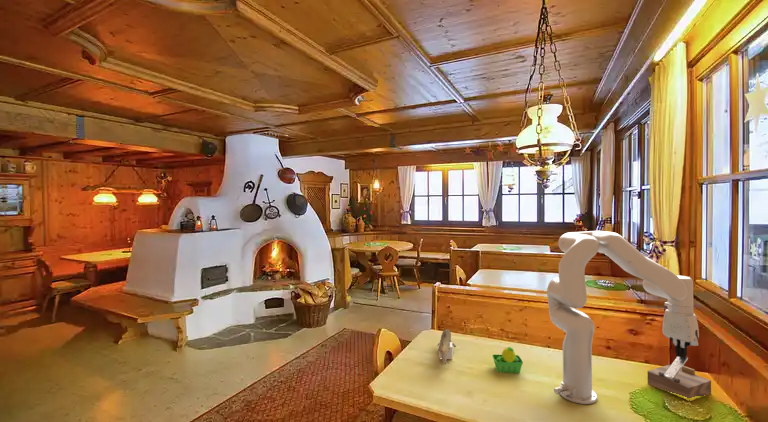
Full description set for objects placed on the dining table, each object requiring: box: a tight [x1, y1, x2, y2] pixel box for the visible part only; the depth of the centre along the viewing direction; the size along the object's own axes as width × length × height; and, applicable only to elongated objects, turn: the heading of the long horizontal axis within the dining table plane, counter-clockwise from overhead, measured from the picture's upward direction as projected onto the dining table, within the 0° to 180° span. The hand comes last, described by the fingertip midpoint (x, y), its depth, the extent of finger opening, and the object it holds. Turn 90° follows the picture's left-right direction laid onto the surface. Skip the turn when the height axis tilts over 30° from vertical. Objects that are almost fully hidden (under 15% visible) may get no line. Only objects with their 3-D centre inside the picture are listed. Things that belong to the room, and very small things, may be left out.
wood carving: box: [437, 328, 457, 364], centre depth 166 cm, size 9×35×11 cm, turn 168°
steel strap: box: [664, 356, 689, 380], centre depth 135 cm, size 11×3×1 cm
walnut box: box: [647, 364, 712, 398], centre depth 135 cm, size 13×14×7 cm
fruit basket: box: [492, 346, 524, 374], centre depth 153 cm, size 11×9×11 cm
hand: (681, 356), depth 136 cm, fingers closed
